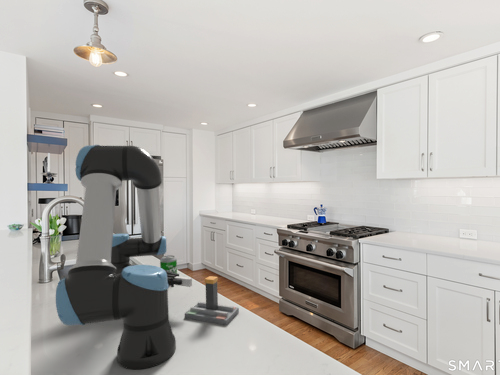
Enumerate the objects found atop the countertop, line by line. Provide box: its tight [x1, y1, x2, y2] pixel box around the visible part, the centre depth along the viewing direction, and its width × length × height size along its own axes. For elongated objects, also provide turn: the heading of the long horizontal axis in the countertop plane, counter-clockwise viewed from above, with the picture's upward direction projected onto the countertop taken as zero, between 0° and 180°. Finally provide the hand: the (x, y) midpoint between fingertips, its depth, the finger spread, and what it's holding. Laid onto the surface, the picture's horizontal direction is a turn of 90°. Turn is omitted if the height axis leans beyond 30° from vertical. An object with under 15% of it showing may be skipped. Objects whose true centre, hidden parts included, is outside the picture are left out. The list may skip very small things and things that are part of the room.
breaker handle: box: [204, 275, 219, 310], centre depth 102 cm, size 3×3×11 cm
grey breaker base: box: [184, 301, 240, 326], centre depth 102 cm, size 10×16×3 cm, turn 69°
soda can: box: [159, 254, 178, 274], centre depth 137 cm, size 8×8×12 cm
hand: (190, 282), depth 105 cm, fingers closed
